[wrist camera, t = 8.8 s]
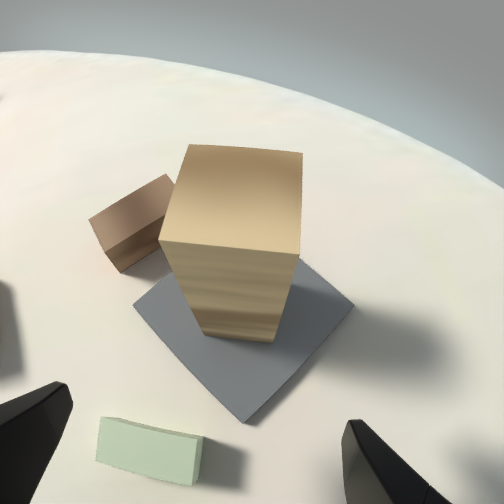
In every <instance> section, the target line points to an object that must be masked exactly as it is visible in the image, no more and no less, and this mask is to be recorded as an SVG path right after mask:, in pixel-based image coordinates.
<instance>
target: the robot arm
mask: <svg viewBox="0 0 504 504" xmlns="http://www.w3.org/2000/svg"><path fill="white" fill-rule="evenodd" d="M72 408H73V401H72V398H71V395H70V392H69V388H68V386H67V385H66V384H65V383H61V382H58V381H55V382H53V383H50V384H48V385H46V386H43V387H41V388H39V389H36V390H34V391H32V392H29V393H27V394H25V395H22V396H20V397H17V398H15V399H13V400H10V401H8V402H5V403H3V404H0V504H30V501H31V499H32V497H33V495H34V493H35V491H36V488H37V486H38V484H39V482H40V480H41V478H42V476H43V474H44V472H45V470H46V468H47V466H48V464H49V462H50V460H51V458H52V456H53V454H54V452H55V450H56V448H57V446H58V444H59V441H60V439H61V437H62V434H63V431H64V429H65V426H66V424H67V421H68V418H69V416H70V413H71V411H72ZM341 444H342V461H343V480H344V489H345V495H346V500H347V504H452V503H451V502H449V501H448V500H447V499H446V498H444V497H443V496H442V495H441V494H440V493H439V492H437V491H436V490H435V489H434V488H433V487H432V486H431V485H430V486H429V483H428V482H426V481H425V480H424V479H423V478H422V477H421V476H420V475H419V474H418V473H417V472H416V471H415V470H414V469H413V468H411V467H410V466H409V465H408V464H407V463H406V462H405V461H404V460H403V459H402V458H401V457H400V456H399V455H398V454H397V453H396V452H395V451H394V450H393V449H392V448H391V447H390V446H388V445H387V444H386V443H385V442H384V441H383V440H382V439H381V438H380V437H379V436H378V435H377V434H376V433H375V432H374V431H373V430H372V429H371V428H370V427H369V426H368V425H367V424H366V423H365V422H364V421H363V420H361V419H356V420H349V421H348V422H347V425H346V428H345V431H344V433H343V436H342V443H341Z"/></svg>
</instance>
